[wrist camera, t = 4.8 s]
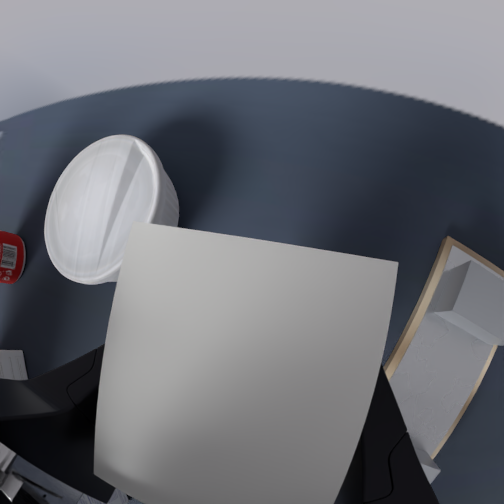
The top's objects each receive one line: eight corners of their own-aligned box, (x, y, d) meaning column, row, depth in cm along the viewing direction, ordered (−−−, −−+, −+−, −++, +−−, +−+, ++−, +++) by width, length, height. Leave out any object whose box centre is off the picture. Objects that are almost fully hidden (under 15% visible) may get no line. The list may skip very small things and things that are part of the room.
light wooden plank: (390, 501, 13) (391, 503, 13) (320, 474, 15) (320, 475, 15) (513, 285, 14) (514, 285, 14) (451, 245, 16) (452, 245, 16)
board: (389, 501, 14) (391, 508, 13) (311, 470, 16) (310, 476, 15) (512, 284, 15) (519, 282, 14) (442, 239, 17) (447, 235, 17)
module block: (321, 413, 14) (307, 554, 3) (230, 392, 15) (93, 473, 5) (346, 303, 15) (398, 262, 4) (254, 286, 16) (133, 220, 6)
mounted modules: (399, 486, 13) (408, 508, 10) (340, 462, 15) (342, 484, 12) (503, 302, 14) (527, 298, 12) (451, 269, 16) (471, 259, 13)
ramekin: (211, 260, 21) (177, 240, 16) (96, 310, 23) (50, 305, 18) (174, 142, 24) (144, 107, 19) (80, 200, 26) (43, 179, 21)
